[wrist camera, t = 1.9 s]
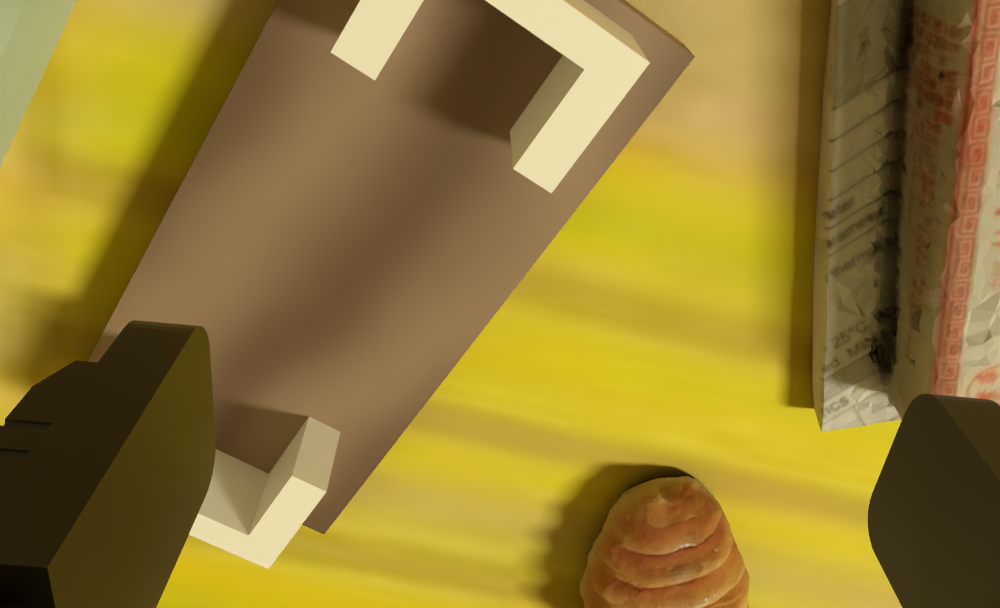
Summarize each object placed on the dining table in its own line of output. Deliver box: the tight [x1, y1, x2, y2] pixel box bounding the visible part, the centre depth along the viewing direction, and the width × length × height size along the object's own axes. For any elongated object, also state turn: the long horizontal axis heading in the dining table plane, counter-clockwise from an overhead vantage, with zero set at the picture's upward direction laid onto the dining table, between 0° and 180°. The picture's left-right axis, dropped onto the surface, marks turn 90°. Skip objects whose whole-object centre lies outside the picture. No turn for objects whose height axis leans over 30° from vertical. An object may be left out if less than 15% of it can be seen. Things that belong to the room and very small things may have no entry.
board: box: [87, 0, 694, 534], centre depth 27 cm, size 10×21×2 cm, turn 146°
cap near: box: [331, 0, 650, 193], centre depth 22 cm, size 6×4×3 cm, turn 56°
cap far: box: [189, 417, 340, 569], centre depth 28 cm, size 6×4×3 cm, turn 56°
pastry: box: [579, 476, 749, 608], centre depth 33 cm, size 9×7×4 cm
